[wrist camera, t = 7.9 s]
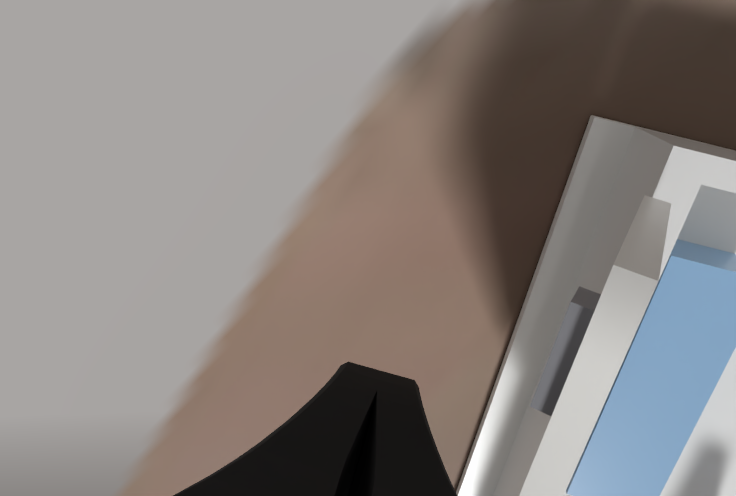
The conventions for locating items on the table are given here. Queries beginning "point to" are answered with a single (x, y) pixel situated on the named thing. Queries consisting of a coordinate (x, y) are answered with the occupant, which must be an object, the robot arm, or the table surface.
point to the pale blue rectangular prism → (663, 377)
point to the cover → (594, 350)
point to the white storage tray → (591, 270)
